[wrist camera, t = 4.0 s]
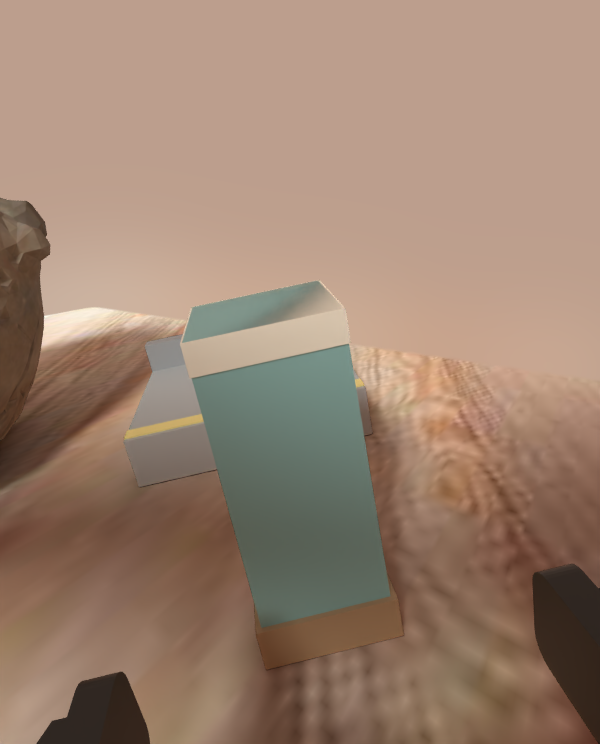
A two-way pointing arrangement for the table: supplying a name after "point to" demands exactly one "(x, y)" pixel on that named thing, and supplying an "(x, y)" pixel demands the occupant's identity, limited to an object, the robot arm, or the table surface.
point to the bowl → (19, 305)
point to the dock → (179, 420)
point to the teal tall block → (293, 468)
